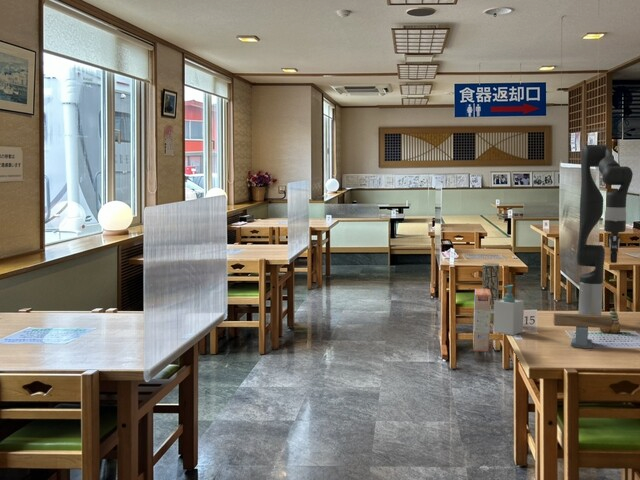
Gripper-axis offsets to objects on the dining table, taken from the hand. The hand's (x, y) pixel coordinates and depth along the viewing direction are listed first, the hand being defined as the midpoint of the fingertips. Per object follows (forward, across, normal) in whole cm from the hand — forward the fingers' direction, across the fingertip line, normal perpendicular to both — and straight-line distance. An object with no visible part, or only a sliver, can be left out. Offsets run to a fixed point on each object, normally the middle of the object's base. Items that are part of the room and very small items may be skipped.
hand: (613, 261), depth 272 cm
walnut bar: (+23, +14, -10) cm, 29 cm away
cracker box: (+30, +33, -44) cm, 63 cm away
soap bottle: (+30, +4, -38) cm, 49 cm away
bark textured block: (+30, -14, -48) cm, 58 cm away
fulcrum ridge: (+30, +14, -10) cm, 35 cm away
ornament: (+30, -12, 0) cm, 33 cm away
